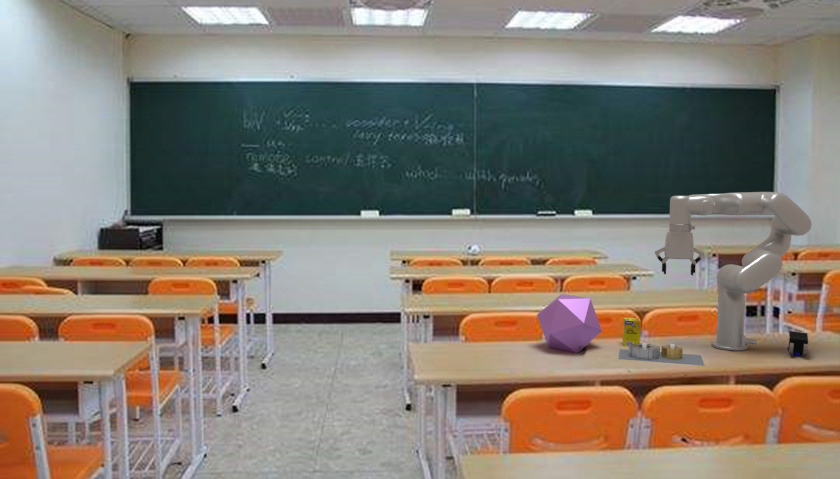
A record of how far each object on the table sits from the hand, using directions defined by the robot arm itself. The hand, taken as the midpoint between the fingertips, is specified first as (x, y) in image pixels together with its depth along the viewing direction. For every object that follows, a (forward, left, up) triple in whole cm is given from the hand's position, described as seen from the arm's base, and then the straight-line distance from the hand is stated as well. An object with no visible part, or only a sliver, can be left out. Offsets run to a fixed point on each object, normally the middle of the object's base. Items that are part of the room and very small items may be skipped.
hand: (678, 274), depth 272 cm
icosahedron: (+39, +13, -28) cm, 50 cm away
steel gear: (+12, +22, -27) cm, 37 cm away
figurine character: (-43, -4, -29) cm, 51 cm away
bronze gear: (+2, +20, -27) cm, 34 cm away
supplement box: (+16, +5, -28) cm, 33 cm away
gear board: (+6, +21, -28) cm, 36 cm away
